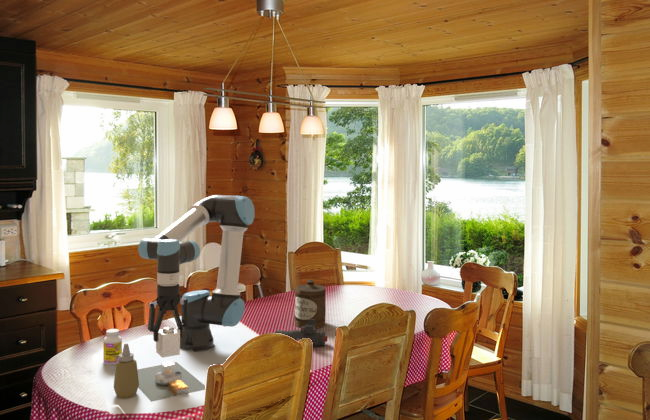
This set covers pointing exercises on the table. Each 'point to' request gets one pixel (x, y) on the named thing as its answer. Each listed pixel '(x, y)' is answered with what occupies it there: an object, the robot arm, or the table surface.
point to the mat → (160, 392)
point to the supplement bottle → (112, 346)
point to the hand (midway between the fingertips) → (168, 348)
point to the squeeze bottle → (126, 375)
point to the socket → (169, 342)
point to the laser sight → (307, 333)
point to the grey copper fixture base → (171, 379)
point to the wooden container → (310, 304)
